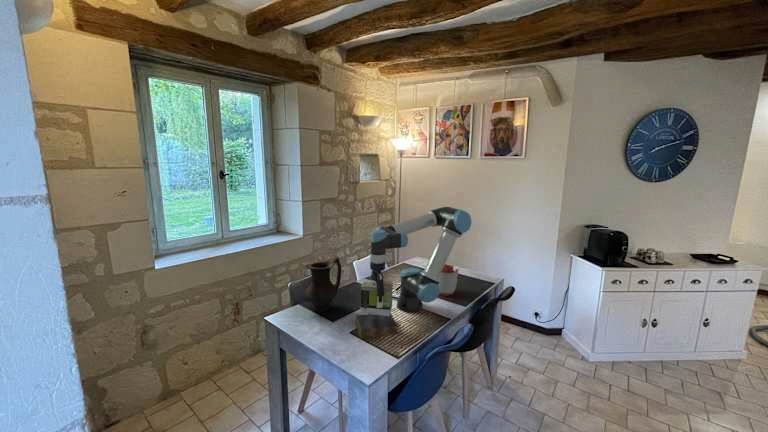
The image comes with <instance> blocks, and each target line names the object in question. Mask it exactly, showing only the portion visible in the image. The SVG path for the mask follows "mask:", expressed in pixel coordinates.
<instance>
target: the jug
mask: <svg viewBox="0 0 768 432" xmlns="http://www.w3.org/2000/svg"><path fill="white" fill-rule="evenodd" d="M335 265H337V273H336V282H335V283H334V284H333V283H332V281H331V270H332V268H333V267H334V266H335ZM305 267H306V269H309V270H310V273H311V274H310V275H311V283H310V285H309V286H308V287H307V288H306V289H305V292H304V296H305V298H306V299H307V300H308V301H309V302H310V303H311V310H312V311H314V312H318V313H322V312H327V311H329V310H330V309H331V308H332V305H331V303H332V301H333V300H334V299H335V298H336V297H337V295H338V289H339V288H340V285H341V280H342V279H341V278H342V265H341V262H340V258H339V256H336V257H334V259H332V260H327V259H326V260H324V259H322V260H320V259H319V260H314V261H311V262H308V263H307V264H306V265H305Z"/></svg>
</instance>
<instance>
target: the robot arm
mask: <svg viewBox="0 0 768 432" xmlns="http://www.w3.org/2000/svg"><path fill="white" fill-rule="evenodd" d="M471 218H472V217H471V215H470V213H468V212H467V211H466V210H463V209H459V208H455V207H451V206H442V207H439V208H435V209H432V210H429V211H427V212H426V213H424V214H422V215H419V216H416V217H412V218H410V219H405V220H403V221H401V222H397V223H394V224H391V225H388V226H384V225H383V226H378V227H376V229H375V230H373V231H371V235H370V254H369V255H370V256H369V258H370V259H369V261H370V262H369V263H370V264H369V268H370V269H369V270H371V274H370V275H371V276H370V280H375V282H376V284H377V292H378V295H376V296H377V308H382V307H383V296H384V284H383V281H384V275H383V273H382V272H383V271H384V270H386V257H387V254H386V253H387V250H391V249H401V248H404V247H407V246H408V245H409V238H408V235H409V234H412V233H414V232H415V233H416V232H417V231H421V230H423V229H426V228H430V227H432V228H435V227H438V226H439V227H441V230H442V233H441V235H440V236H439V239H438V241H437V243H436V245H435V247H434V250H433V252H432V254H431V256H430V258H429V260H428V262H427V264H426V267H425V268H424V270H421V269H420V268H416V267H410V268H404V269H402V270H401V272H400V292H399V296H398V299H397V300H396V308H397V309H399V310H400V311H402V312H404V313H405V312H406V313H417V312H420V311H421V310H422V309H423V303H426V304H427V303H431V302H434V301H435V300H436V299H437V298H438V297H439V296H440V295H439V293H440V290H439V286H438V284H439V282H440V281H439V276H440V274H441V271H442V269H443V267H444V265H445V264H447V260H448V259H449V256H450V254H451V252H452V250H453V248H454V246H455V244H456V242H457V239H458V238H461V237H462V235H463V234H464V233H466V232H468V231H469V230H470V229H471V226H472V219H471Z"/></svg>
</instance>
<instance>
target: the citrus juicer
mask: <svg viewBox="0 0 768 432" xmlns="http://www.w3.org/2000/svg"><path fill="white" fill-rule="evenodd" d="M458 276H460V274H459V269H455V270H454V266H453V265H451V264H447V263H445V265H444V267H443V269H442V271H441V274H440V276H439V281H440V282H439V284H438V286H439V290H440V293H439V295H438V296H441V295H443V296H442V297H450V296H449V295H451V296H453V295H454V293H455V291H456V288H457V284H458ZM452 294H453V295H452Z"/></svg>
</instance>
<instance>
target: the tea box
mask: <svg viewBox="0 0 768 432" xmlns="http://www.w3.org/2000/svg"><path fill="white" fill-rule="evenodd" d="M393 283H394V282H393V281H388V280H383V284H384V296H383V307H382V308H377V296H376V295H378V292H377V284H376V282H375V280H371V279H364V280H363V282H362V284H361V285H360V305H359V307H360V314H362V315H365V314H373V315H383V316H390V313H392V308H393V291H394V290H393V287H394V286H393Z"/></svg>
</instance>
